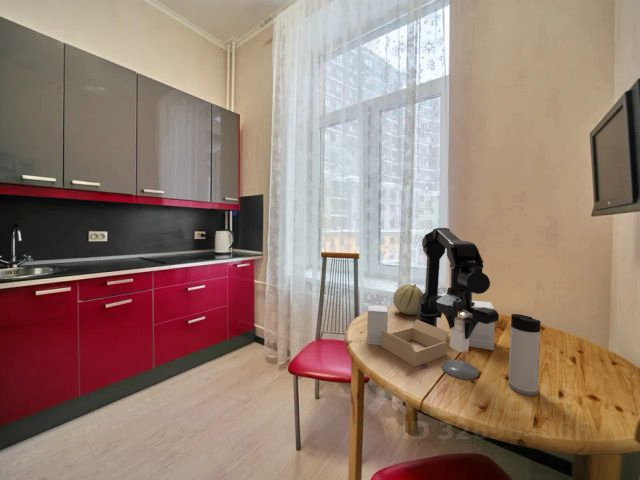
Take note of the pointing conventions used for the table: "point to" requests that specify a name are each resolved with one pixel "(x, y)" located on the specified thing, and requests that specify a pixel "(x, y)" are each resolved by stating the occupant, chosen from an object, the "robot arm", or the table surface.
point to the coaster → (459, 369)
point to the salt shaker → (459, 336)
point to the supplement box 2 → (482, 330)
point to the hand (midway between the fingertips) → (459, 336)
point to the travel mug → (524, 354)
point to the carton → (421, 334)
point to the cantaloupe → (407, 299)
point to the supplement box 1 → (376, 324)
